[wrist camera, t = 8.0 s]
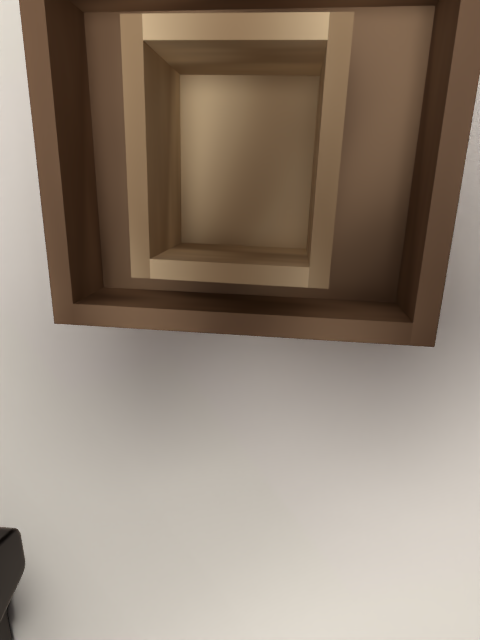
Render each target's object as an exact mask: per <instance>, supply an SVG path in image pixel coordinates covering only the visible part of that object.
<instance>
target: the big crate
mask: <svg viewBox="0 0 480 640" xmlns="http://www.w3.org/2000/svg"><path fill="white" fill-rule="evenodd" d="M19 5H20V14H21V23H22V32H23V41H24V50H25V59H26V69H27V78H28V87H29V96H30V105H31V114H32V123H33V132H34V142H35V151H36V160H37V169H38V178H39V187H40V196H41V205H42V215H43V224H44V233H45V242H46V251H47V260H48V269H49V278H50V288H51V297H52V306H53V315H54V324H71V325H87V326H103V327H119V328H135V329H152V330H168V331H184V332H200V333H216V334H233V335H249V336H265V337H281V338H297V339H313V340H330V341H346V342H362V343H378V344H394V345H411V346H427V347H434V346H435V340H436V334H437V328H438V322H439V316H440V310H441V304H442V297H443V291H444V285H445V279H446V273H447V267H448V261H449V255H450V249H451V243H452V237H453V231H454V225H455V219H456V213H457V207H458V201H459V195H460V189H461V183H462V177H463V171H464V165H465V159H466V153H467V147H468V141H469V135H470V129H471V123H472V117H473V111H474V105H475V98H476V92H477V86H478V80H479V74H480V0H19ZM268 12H354V23H353V33H352V44H351V54H350V65H349V76H348V86H347V97H346V107H345V118H344V129H343V139H342V150H341V160H340V171H339V182H338V192H337V203H336V213H335V224H334V235H333V245H332V256H331V266H330V277H329V287H328V289H322V288H305V287H288V286H270V285H253V284H236V283H219V282H201V281H184V280H167V279H150V278H132V277H131V258H130V235H129V212H128V189H127V166H126V143H125V120H124V97H123V75H122V52H121V29H120V14H145V13H268Z"/></svg>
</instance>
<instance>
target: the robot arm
mask: <svg viewBox="0 0 480 640" xmlns="http://www.w3.org/2000/svg"><path fill="white" fill-rule="evenodd" d="M24 568H25V557H24V551H23V545H22V540H21V534H20V532H19V530H18V529H16V528H6V527H0V640H12V637H11V632H10V626H9V621H8V615H7V610H6V609H7V606H8V604H9V602H10V600H11V598H12V596H13V594H14V592H15V589H16V587H17V585H18V583H19V581H20V579H21V577H22V574H23V571H24Z"/></svg>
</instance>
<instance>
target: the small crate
mask: <svg viewBox="0 0 480 640" xmlns="http://www.w3.org/2000/svg"><path fill="white" fill-rule="evenodd" d="M353 23H354V12H268V13H145V14H120V29H121V52H122V75H123V97H124V120H125V143H126V166H127V189H128V212H129V235H130V258H131V277H132V278H150V279H167V280H184V281H201V282H219V283H236V284H253V285H270V286H288V287H305V288H322V289H328V287H329V277H330V266H331V256H332V245H333V235H334V224H335V213H336V203H337V192H338V182H339V171H340V160H341V150H342V139H343V129H344V118H345V107H346V97H347V86H348V76H349V65H350V54H351V44H352V33H353Z"/></svg>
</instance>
